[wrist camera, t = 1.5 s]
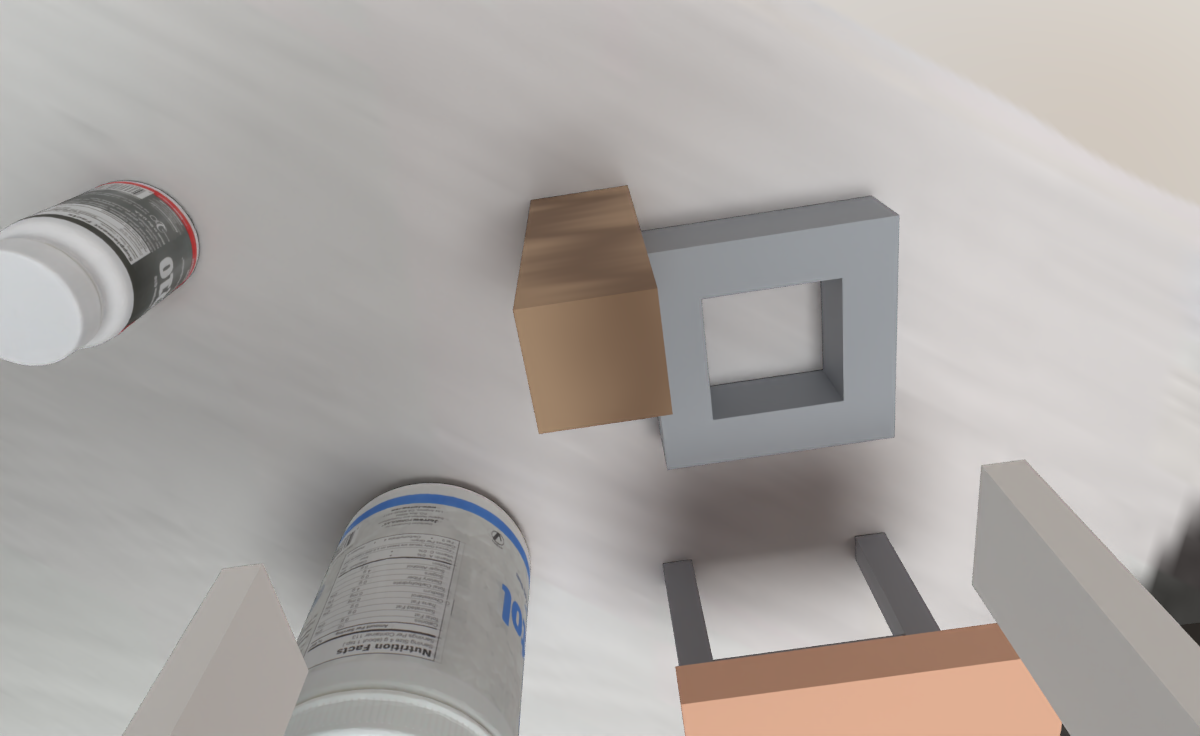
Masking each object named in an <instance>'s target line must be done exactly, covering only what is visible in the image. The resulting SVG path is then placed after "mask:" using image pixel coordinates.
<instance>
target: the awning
mask: <svg viewBox="0 0 1200 736" xmlns="http://www.w3.org/2000/svg"><path fill="white" fill-rule="evenodd" d="M856 561H857V563H858V565H859V567H860V569H861V571H862V573H863V575H864V577H865V579H866V581H867V584H868V586H869V588H870V590H871V592H872V594H873V596H874V598H875V600H876V602H877V604H878V606H879V608H880V610H881V612H882V614H883V616H884V618H885V620H886V622H887V624H888V626H889V628H890V630H891V632H892V634H893V636H886V637H879V638H871V639H864V640H857V641H849V642H842V643H834V644H827V645H820V646H812V647H805V648H798V649H790V650H783V651H775V652H768V653H761V654H753V655H746V656H739V657H731V658H724V659H717V660H713V658H712V653H711V649H710V644H709V639H708V635H707V630H706V625H705V620H704V616H703V611H702V606H701V602H700V597H699V592H698V588H697V583H696V578H695V574H694V569H693V564H692V560H686V561H679V562H672V563H665V564H663V568H664V575H665V582H666V589H667V595H668V601H669V608H670V614H671V620H672V626H673V632H674V638H675V645H676V651H677V657H678V663H679V666H676V667H675V668H676V675H677V682H678V689H679V696H680V703H681V710H682V717H683V724H684V730H685V736H1060V731H1061V725H1062V722H1061V720H1060V719H1059V717H1058V716H1057V714H1056V712H1055V711H1054V709H1053V708H1052V706H1051V705H1050V703H1049V702H1048V700H1047V699H1046V697H1045V696H1044V694H1043V693H1042V691H1041V690H1040V688H1039V686H1038V685H1037V683H1036V682H1035V680H1034V679H1033V677H1032V676H1031V674H1030V673H1029V671H1028V670H1027V668H1026V667H1025V665H1024V664H1023V662H1022V660H1021V659H1020V657H1019V656H1018V654H1017V653H1016V651H1015V650H1014V648H1013V647H1012V645H1011V644H1010V642H1009V641H1008V639H1007V637H1006V636H1005V634H1004V633H1003V631H1002V630H1001V628H1000V627H999V625H998V624H997V623H993V624H986V625H979V626H971V627H964V628H956V629H949V630H942V631H941V630H940V629H939V627H938V625H937V623H936V622H935V620H934V618H933V616H932V615H931V613H930V611H929V609H928V608H927V606H926V604H925V602H924V601H923V599H922V597H921V595H920V594H919V592H918V590H917V588H916V587H915V585H914V583H913V581H912V580H911V578H910V576H909V574H908V573H907V571H906V569H905V567H904V566H903V564H902V562H901V560H900V559H899V557H898V555H897V553H896V552H895V550H894V548H893V546H892V545H891V543H890V541H889V539H888V538H887V536H886V534H885V533H879V534H872V535H865V536H858V537H856Z"/></svg>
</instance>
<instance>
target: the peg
mask: <svg viewBox="0 0 1200 736" xmlns="http://www.w3.org/2000/svg"><path fill="white" fill-rule="evenodd" d="M513 313H514V318H515V322H516V327H517V332H518V337H519V341H520V346H521V351H522V356H523V360H524V365H525V370H526V375H527V379H528V384H529V389H530V394H531V398H532V403H533V408H534V413H535V417H536V422H537V427H538V432H539V434H542V433H549V432H556V431H562V430H569V429H576V428H583V427H590V426H597V425H604V424H611V423H617V422H624V421H631V420H638V419H645V418H652V417H659V416H666V415H672V414H673V412H672V404H671V395H670V387H669V379H668V371H667V362H666V354H665V346H664V338H663V329H662V321H661V313H660V305H659V296H658V288H657V285H656V281H655V278H654V274H653V271H652V268H651V264H650V261H649V257H648V254H647V250H646V247H645V244H644V240H643V237H642V233H641V230H640V226H639V223H638V220H637V216H636V213H635V209H634V206H633V202H632V199H631V196H630V192H629V189H628V185H626V186H620V187H613V188H607V189H601V190H594V191H588V192H581V193H575V194H568V195H562V196H555V197H549V198H542V199H536V200H531V203H530V209H529V215H528V221H527V227H526V233H525V240H524V246H523V252H522V258H521V264H520V270H519V276H518V282H517V288H516V294H515V300H514V306H513Z"/></svg>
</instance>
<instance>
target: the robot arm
mask: <svg viewBox="0 0 1200 736" xmlns="http://www.w3.org/2000/svg"><path fill="white" fill-rule="evenodd" d="M972 585H973V587H974V589H975V590H976V592H977V593H978V595H979V596H980V598H981V599H982V601H983V602H984V604H985V605H986V607H987V608H988V610H989V611H990V613H991V615H992V616H993V618H994V619H995V621H996V622H997V624H998V625H999V627H1000V628H1001V630H1002V631H1003V633H1004V634H1005V636H1006V637H1007V639H1008V641H1009V642H1010V644H1011V645H1012V647H1013V648H1014V650H1015V651H1016V653H1017V654H1018V656H1019V657H1020V659H1021V660H1022V662H1023V664H1024V665H1025V667H1026V668H1027V670H1028V671H1029V673H1030V674H1031V676H1032V677H1033V679H1034V680H1035V682H1036V683H1037V685H1038V686H1039V688H1040V690H1041V691H1042V693H1043V694H1044V696H1045V697H1046V699H1047V700H1048V702H1049V703H1050V705H1051V706H1052V708H1053V709H1054V711H1055V712H1056V714H1057V716H1058V717H1059V719H1060V720H1061V722H1062V723H1063V725H1064V726H1065V728H1066V729H1067V731H1068V732H1069V734H1070V735H1071V736H1200V623H1193V624H1185V625H1179V624H1178V623H1177V622H1176V621H1175V620H1174V619H1173V617H1172V616H1171V615H1170V614H1169V613H1168V612H1167V611H1166V610H1165V609H1164V608H1163V607H1162V606H1161V605H1160V604H1159V603H1158V601H1157V600H1156V599H1155V598H1154V597H1153V596H1152V595H1151V594H1150V593H1149V592H1148V591H1147V590H1146V589H1145V588H1144V586H1143V585H1142V584H1141V583H1140V582H1139V581H1138V580H1137V579H1136V578H1135V577H1134V576H1133V575H1132V574H1131V573H1130V571H1129V570H1128V569H1127V568H1126V567H1125V566H1124V565H1123V564H1122V563H1121V562H1120V561H1119V560H1118V559H1117V558H1116V556H1115V555H1114V554H1113V553H1112V552H1111V551H1110V550H1109V549H1108V548H1107V547H1106V546H1105V545H1104V544H1103V543H1102V542H1101V540H1100V539H1099V538H1098V537H1097V536H1096V535H1095V534H1094V533H1093V532H1092V531H1091V530H1090V529H1089V528H1088V527H1087V525H1086V524H1085V523H1084V522H1083V521H1082V520H1081V519H1080V518H1079V517H1078V516H1077V515H1076V514H1075V513H1074V512H1073V510H1072V509H1071V508H1070V507H1069V506H1068V505H1067V504H1066V503H1065V502H1064V501H1063V500H1062V499H1061V498H1060V497H1059V495H1058V494H1057V493H1056V492H1055V491H1054V490H1053V489H1052V488H1051V487H1050V486H1049V485H1048V484H1047V483H1046V482H1045V480H1044V479H1043V478H1042V477H1041V476H1040V475H1039V474H1038V473H1037V472H1036V471H1035V470H1034V469H1033V468H1032V467H1031V466H1030V464H1029V463H1028V462H1027V461H1026V460H1017V461H1010V462H1003V463H995V464H988V465H981V475H980V488H979V500H978V513H977V526H976V538H975V551H974V564H973V576H972ZM308 671H309V670H308V668H307V665H306V663H305V661H304V658H303V656H302V654H301V651H300V649H299V647H298V644H297V642H296V640H295V637H294V635H293V633H292V630H291V628H290V626H289V623H288V621H287V619H286V616H285V614H284V612H283V609H282V607H281V605H280V602H279V600H278V598H277V595H276V593H275V591H274V588H273V586H272V584H271V581H270V579H269V577H268V574H267V572H266V569H265V567H264V565H263V563H261V564H253V565H246V566H239V567H231V568H224V569H222V570H221V572H220V574H219V575H218V577H217V579H216V580H215V582H214V584H213V585H212V587H211V589H210V590H209V592H208V594H207V595H206V597H205V599H204V600H203V602H202V604H201V605H200V607H199V609H198V610H197V612H196V614H195V615H194V617H193V619H192V620H191V622H190V624H189V625H188V627H187V629H186V630H185V632H184V634H183V635H182V637H181V639H180V640H179V642H178V644H177V645H176V647H175V649H174V650H173V652H172V654H171V655H170V657H169V659H168V660H167V662H166V664H165V665H164V667H163V669H162V670H161V672H160V673H159V675H158V677H157V678H156V680H155V682H154V683H153V685H152V687H151V688H150V690H149V692H148V693H147V695H146V697H145V698H144V700H143V702H142V703H141V705H140V707H139V708H138V710H137V712H136V713H135V715H134V717H133V718H132V720H131V722H130V723H129V725H128V727H127V728H126V730H125V732H124V733H123V735H122V736H284V733H285V731H286V728H287V726H288V723H289V720H290V718H291V715H292V713H293V710H294V708H295V705H296V702H297V700H298V697H299V695H300V692H301V689H302V687H303V684H304V682H305V679H306V677H307V674H308Z"/></svg>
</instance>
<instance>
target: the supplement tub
mask: <svg viewBox="0 0 1200 736" xmlns="http://www.w3.org/2000/svg"><path fill="white" fill-rule="evenodd" d="M530 570H531V566H530V557H529V551H528V548H527V545H526V542H525V540H524V538H523V536H522V534H521V532H520V530H519V529H518V527H517V526H516V524H515V523H514V522H513V520H512V519H511V518H510V517H509V516H508V515H507V514H506V513H505V512H504V511H503V510H502V509H501V508H500V507H499V506H498V505H496V504H495V503H494V502H492V501H491V500H489V499H488V498H486V497H484V496H482V495H480V494H478V493H475V492H473V491H471V490H468V489H465V488H461V487H458V486H454V485H447V484H440V483H421V484H413V485H407V486H403V487H399V488H396V489H393V490H391V491H388V492H386V493H384V494H381V495H380V496H378V497H376V498H375V499H373V500H372V501H370V502H369V503H367V504H366V505H365V506H364V507H363V508H361V509H360V510H359V511H358V513H357V514H356V515H355V516H354V517H353V518H352V520H351V521H350V523H349V524H348V526H347V528H346V530H345V532H344V534H343V536H342V539H341V540H340V543H339V545H338V547H337V549H336V552H335V554H334V556H333V559H332V561H331V564H330V566H329V568H328V570H327V573H326V575H325V577H324V580H323V582H322V584H321V586H320V589H319V591H318V593H317V596H316V598H315V600H314V603H313V605H312V607H311V610H310V612H309V614H308V617H307V619H306V622H305V624H304V626H303V629H302V631H301V633H300V636H299V638H298V640H297V644H298V647H299V649H300V651H301V654H302V656H303V658H304V661H305V663H306V665H307V668H308V670H309V671H308V674H307V677H306V679H305V682H304V684H303V687H302V689H301V692H300V695H299V697H298V700H297V702H296V705H295V708H294V710H293V713H292V715H291V718H290V720H289V723H288V726H287V728H286V731H285V733H284V736H519V725H520V711H521V697H522V683H523V669H524V656H525V642H526V628H527V613H528V600H529V586H530Z"/></svg>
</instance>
